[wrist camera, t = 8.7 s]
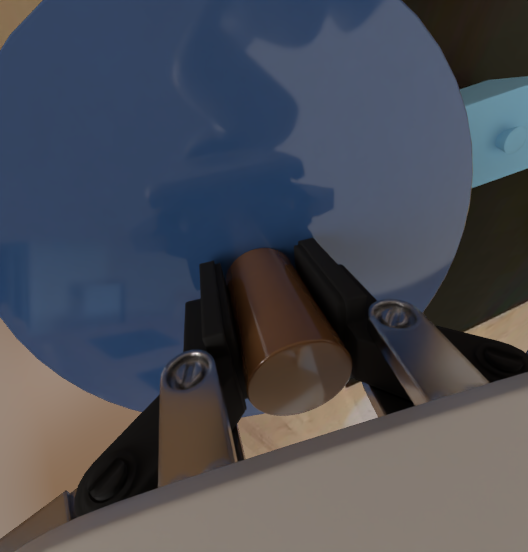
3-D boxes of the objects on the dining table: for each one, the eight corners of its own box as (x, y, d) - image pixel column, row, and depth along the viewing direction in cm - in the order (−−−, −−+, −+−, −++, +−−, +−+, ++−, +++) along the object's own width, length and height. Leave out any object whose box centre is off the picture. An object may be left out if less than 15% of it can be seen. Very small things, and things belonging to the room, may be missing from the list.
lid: (445, -203, 7) (1391, -1367, 1) (451, 313, 17) (565, 403, 12) (-202, 152, 7) (-1192, 260, 2) (183, 439, 17) (179, 578, 12)
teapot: (367, 188, 26) (421, 213, 20) (364, 119, 23) (427, 123, 17) (481, 149, 27) (568, 162, 21) (494, 75, 23) (602, 63, 17)
